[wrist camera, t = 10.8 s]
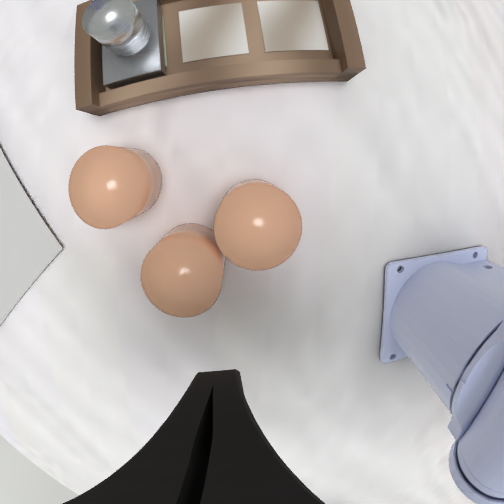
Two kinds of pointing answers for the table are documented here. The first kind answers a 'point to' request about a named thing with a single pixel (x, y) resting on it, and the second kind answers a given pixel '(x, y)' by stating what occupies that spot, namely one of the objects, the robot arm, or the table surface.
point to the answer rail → (229, 49)
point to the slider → (127, 39)
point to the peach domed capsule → (257, 225)
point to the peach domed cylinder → (113, 185)
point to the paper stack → (20, 240)
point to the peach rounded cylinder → (184, 271)
